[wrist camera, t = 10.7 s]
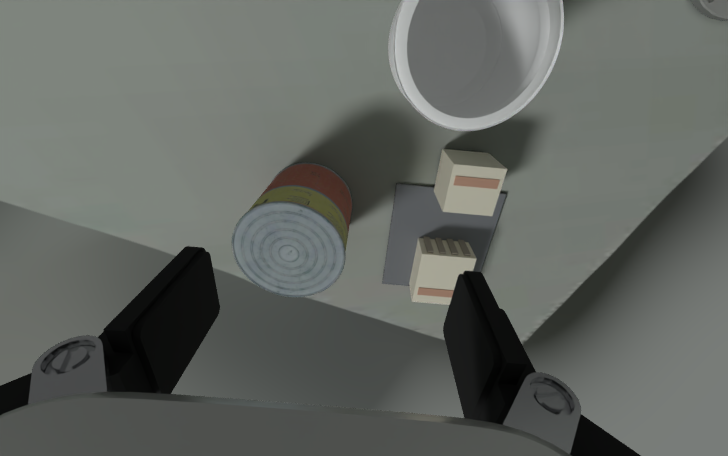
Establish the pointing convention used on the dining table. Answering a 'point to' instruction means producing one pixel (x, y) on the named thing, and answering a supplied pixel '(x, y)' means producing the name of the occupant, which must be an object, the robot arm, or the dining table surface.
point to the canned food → (296, 232)
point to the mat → (431, 229)
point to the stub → (468, 182)
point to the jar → (473, 57)
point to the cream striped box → (439, 269)
